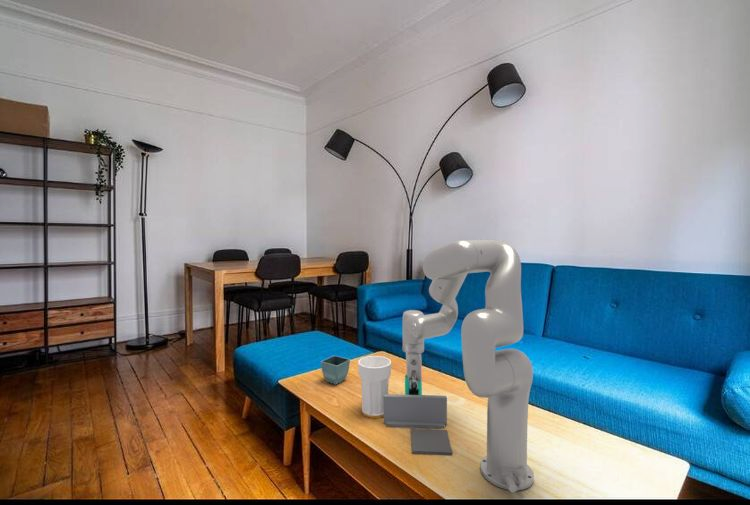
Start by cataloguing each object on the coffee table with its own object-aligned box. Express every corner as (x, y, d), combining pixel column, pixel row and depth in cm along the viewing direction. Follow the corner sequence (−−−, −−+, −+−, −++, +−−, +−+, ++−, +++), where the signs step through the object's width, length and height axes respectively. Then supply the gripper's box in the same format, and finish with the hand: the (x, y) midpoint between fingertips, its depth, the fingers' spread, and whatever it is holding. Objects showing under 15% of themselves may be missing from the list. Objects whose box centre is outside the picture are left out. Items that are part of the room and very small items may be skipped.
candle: (421, 410, 121) (421, 376, 120) (403, 408, 122) (403, 374, 121) (422, 401, 126) (422, 369, 126) (405, 400, 128) (405, 368, 127)
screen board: (447, 428, 109) (447, 400, 108) (383, 426, 110) (383, 398, 110) (445, 420, 114) (445, 393, 113) (384, 418, 115) (383, 391, 115)
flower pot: (350, 380, 146) (350, 358, 145) (337, 388, 138) (337, 365, 138) (334, 375, 150) (334, 355, 150) (320, 383, 143) (320, 361, 142)
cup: (351, 411, 120) (351, 361, 119) (374, 400, 128) (373, 353, 127) (375, 424, 112) (375, 370, 111) (398, 410, 120) (398, 361, 119)
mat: (452, 455, 96) (452, 452, 96) (411, 453, 97) (411, 450, 97) (446, 432, 107) (446, 429, 107) (410, 431, 108) (410, 428, 108)
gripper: (425, 355, 114) (425, 406, 115) (422, 338, 131) (422, 383, 132) (402, 354, 115) (402, 405, 116) (402, 338, 132) (402, 382, 133)
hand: (413, 393), depth 124 cm, fingers open, 9 cm apart
